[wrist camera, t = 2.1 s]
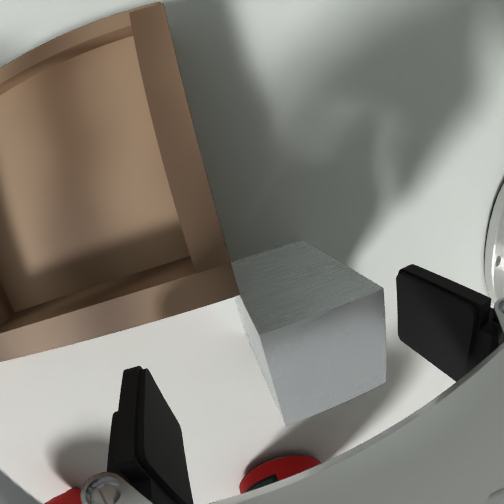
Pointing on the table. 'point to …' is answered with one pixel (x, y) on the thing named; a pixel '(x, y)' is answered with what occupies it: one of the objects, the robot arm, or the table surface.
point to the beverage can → (276, 471)
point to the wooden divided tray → (102, 189)
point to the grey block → (311, 327)
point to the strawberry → (67, 497)
